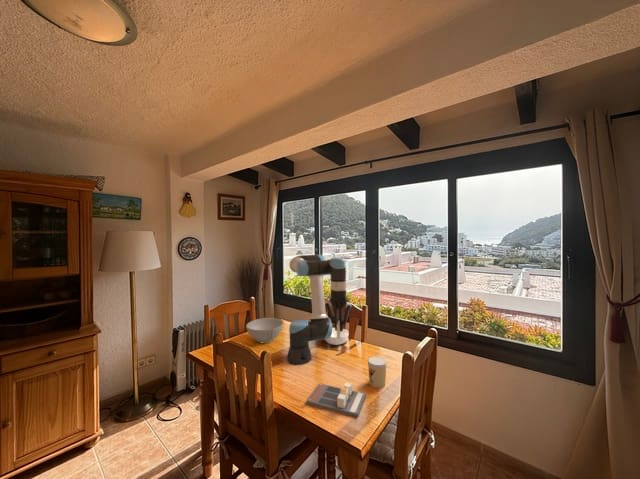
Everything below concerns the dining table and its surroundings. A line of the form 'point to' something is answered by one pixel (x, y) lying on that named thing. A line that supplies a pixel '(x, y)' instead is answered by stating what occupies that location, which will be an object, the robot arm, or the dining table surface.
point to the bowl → (335, 340)
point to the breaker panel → (337, 399)
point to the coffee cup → (377, 372)
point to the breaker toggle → (344, 392)
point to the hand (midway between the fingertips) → (339, 337)
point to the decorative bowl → (264, 329)
